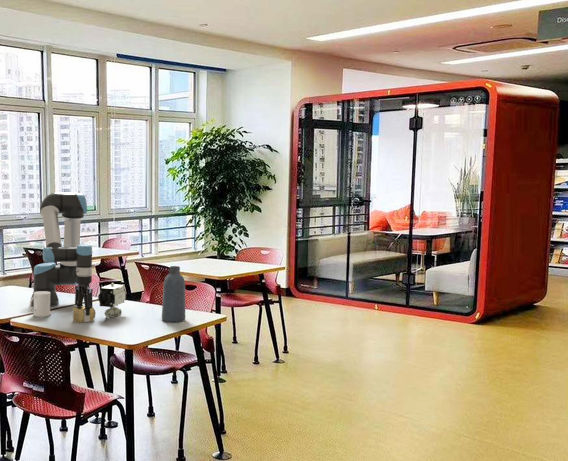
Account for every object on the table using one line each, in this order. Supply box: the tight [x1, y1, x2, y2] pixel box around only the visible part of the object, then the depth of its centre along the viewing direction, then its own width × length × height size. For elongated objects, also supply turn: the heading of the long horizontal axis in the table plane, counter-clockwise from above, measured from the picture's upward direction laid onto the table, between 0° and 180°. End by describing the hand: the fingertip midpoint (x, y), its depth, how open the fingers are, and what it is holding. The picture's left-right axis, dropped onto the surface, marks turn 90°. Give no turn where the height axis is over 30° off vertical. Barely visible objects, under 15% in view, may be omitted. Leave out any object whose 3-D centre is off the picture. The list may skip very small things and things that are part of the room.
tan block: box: [72, 305, 96, 324], centre depth 314 cm, size 6×10×7 cm, turn 136°
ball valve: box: [97, 282, 127, 319], centre depth 326 cm, size 18×8×18 cm, turn 168°
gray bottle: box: [161, 265, 186, 323], centre depth 322 cm, size 12×12×28 cm
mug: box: [29, 291, 51, 318], centre depth 321 cm, size 12×8×12 cm
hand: (83, 320), depth 314 cm, fingers open, 6 cm apart
